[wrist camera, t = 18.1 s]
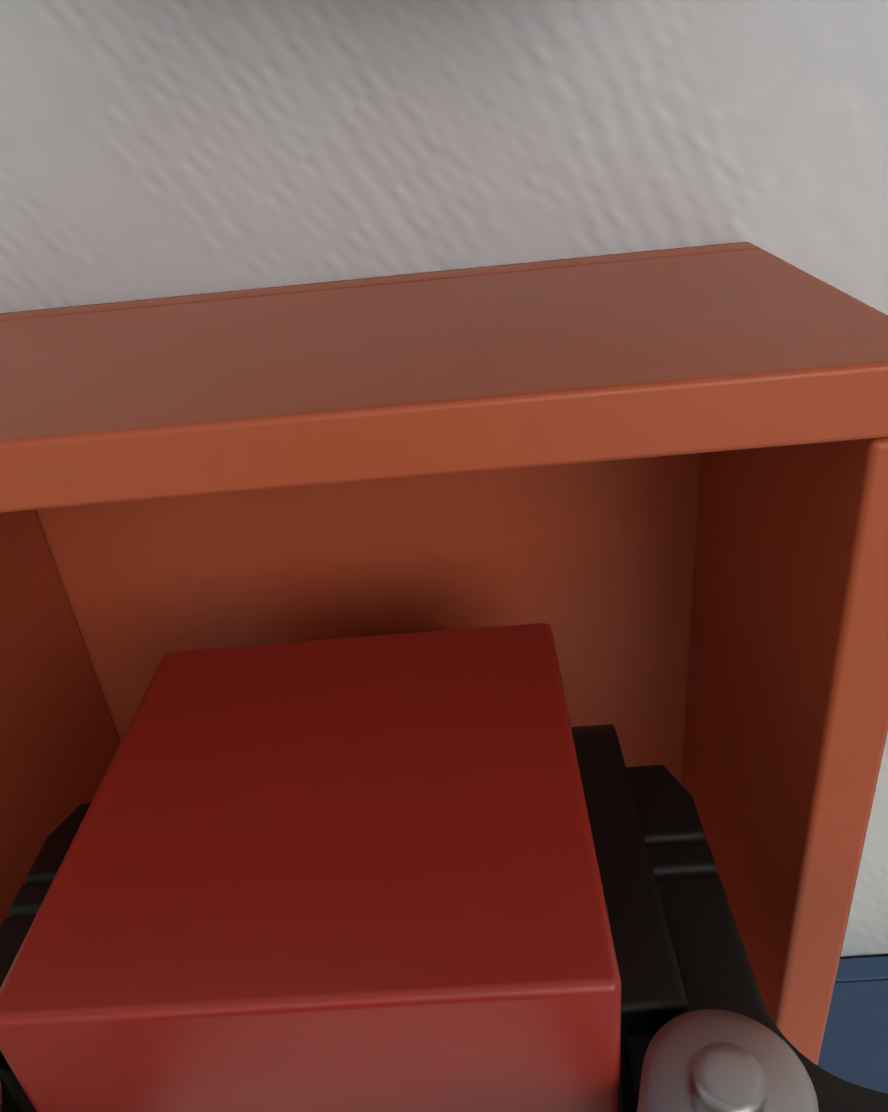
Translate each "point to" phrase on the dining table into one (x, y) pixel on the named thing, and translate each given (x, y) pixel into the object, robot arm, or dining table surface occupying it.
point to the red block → (330, 893)
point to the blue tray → (858, 1024)
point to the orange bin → (481, 531)
